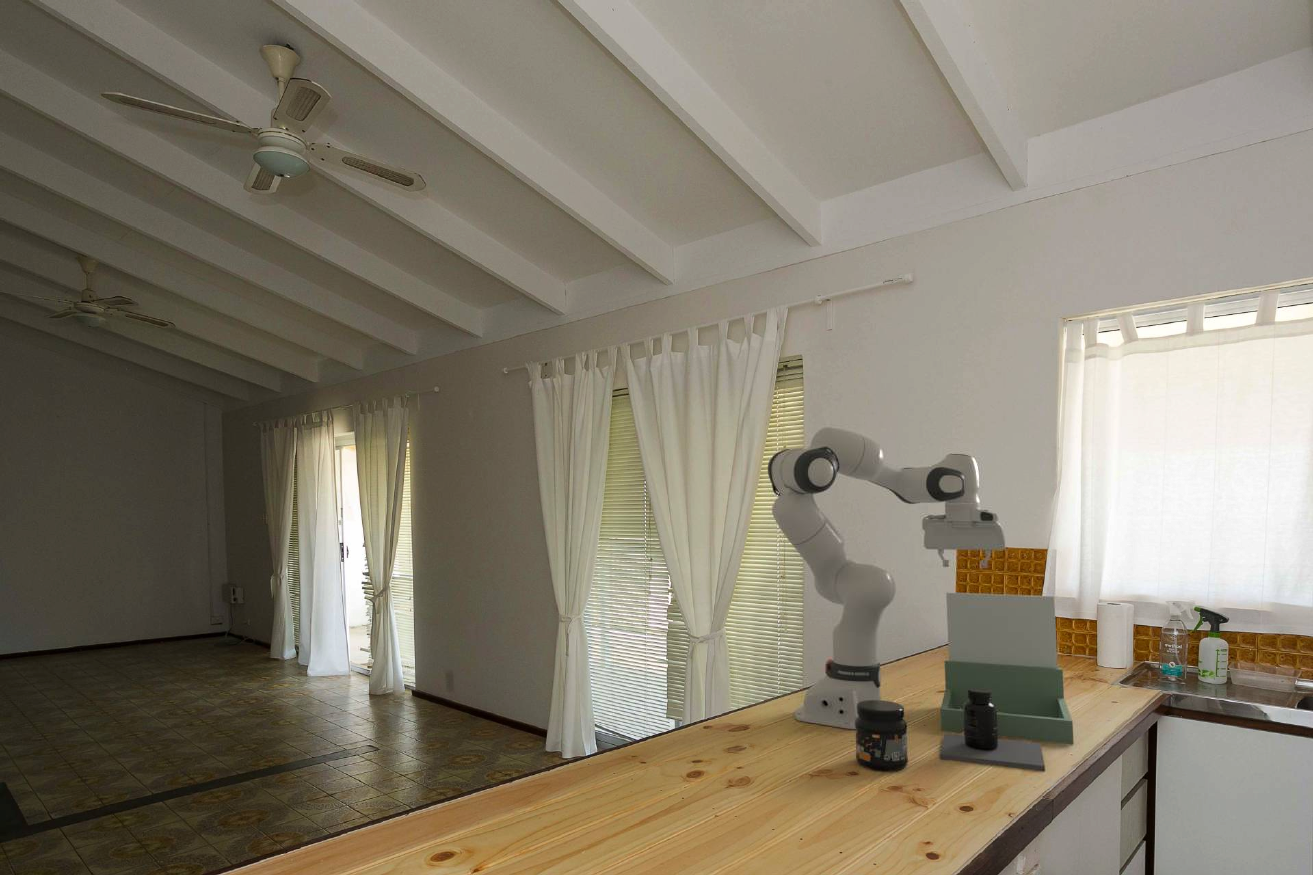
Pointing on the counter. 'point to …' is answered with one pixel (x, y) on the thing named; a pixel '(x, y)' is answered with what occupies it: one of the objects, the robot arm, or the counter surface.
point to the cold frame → (1006, 664)
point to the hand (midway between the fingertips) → (964, 567)
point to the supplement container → (881, 735)
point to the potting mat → (994, 753)
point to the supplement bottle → (980, 720)
